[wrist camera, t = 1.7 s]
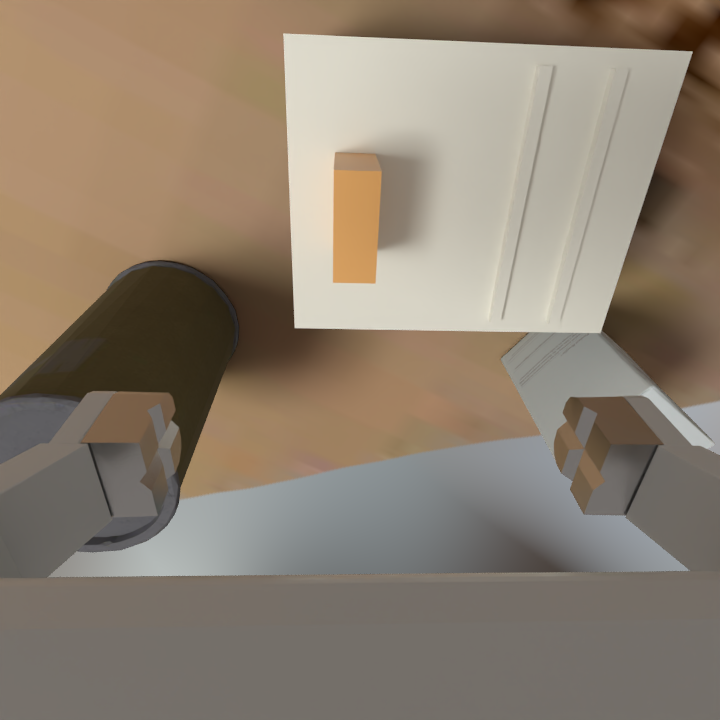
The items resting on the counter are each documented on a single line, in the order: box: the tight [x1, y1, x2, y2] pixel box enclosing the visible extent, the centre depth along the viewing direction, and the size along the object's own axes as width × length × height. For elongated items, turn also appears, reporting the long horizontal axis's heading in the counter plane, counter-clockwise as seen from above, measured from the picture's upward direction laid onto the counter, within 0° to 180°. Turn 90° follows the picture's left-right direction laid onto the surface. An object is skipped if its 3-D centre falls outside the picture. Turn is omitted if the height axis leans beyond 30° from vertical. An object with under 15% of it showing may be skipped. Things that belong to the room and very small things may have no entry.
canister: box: [0, 261, 239, 552], centre depth 31 cm, size 11×10×20 cm
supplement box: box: [501, 330, 715, 459], centre depth 36 cm, size 7×7×13 cm
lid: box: [284, 34, 693, 333], centre depth 25 cm, size 19×15×7 cm
